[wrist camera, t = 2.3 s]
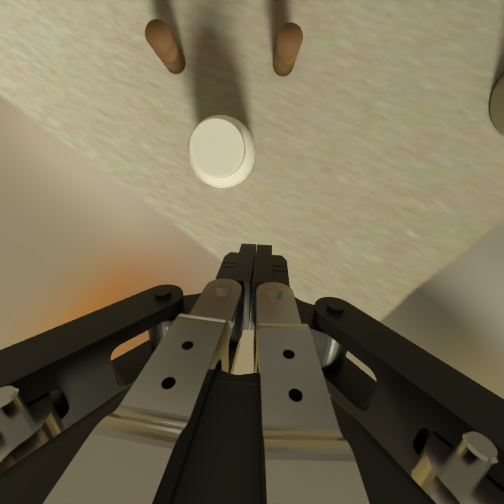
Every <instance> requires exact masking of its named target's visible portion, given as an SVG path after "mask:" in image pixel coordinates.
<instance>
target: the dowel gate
mask: <svg viewBox="0 0 504 504" xmlns="http://www.w3.org/2000/svg"><path fill="white" fill-rule="evenodd" d="M145 37H146V40H147V42H148V43H149V44H150V46H151V47H152V48H153V50H154V51H155V53H156V54H157V55H158V57H159V58H160V59H161V61H162V62H163V63H164V65H165V66H166V67H167V69H168V70H169V71H170V72H171V73H173V74H179V73H181V72H182V71H183V70H184V68H185V58H184V56H183V54H182V53H181V51H180V49H179V47H178V45H177V43H176V42H175V40H174V38H173V36H172V34H171V32H170V30H169V29H168V27H167V25H166V24H165V23H164V22H163V21H161V20H158V19H154V20H151V21H150V22H149V23H148V24H147V26H146V29H145ZM302 40H303V34H302V30H301V28H300V27H299V26H298V25H297V24H295V23H287V24H285V25H284V26H283V27H282V28H281V29H280V31H279V35H278V40H277V46H276V52H275V57H274V63H273V68H274V71H275V72H276V74H277V75H279V76H287V75H288V74H290V72H291V71H292V69H293V66H294V63H295V60H296V57H297V54H298V52H299V49H300V46H301V43H302Z"/></svg>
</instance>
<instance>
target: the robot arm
mask: <svg viewBox="0 0 504 504" xmlns="http://www.w3.org/2000/svg"><path fill="white" fill-rule="evenodd" d="M490 116H491V119H492V122H493V124H494V126H495V128H496V129H497V130H498V131H499V132H500V133H501V134H503V135H504V74H503V75H502V76H501V78H500V79H499V80H498V82H497V84H496V86H495V88H494V90H493V93H492V96H491V101H490ZM250 313H251V320H250ZM249 321H250V329H251V330H254V343H253V362H254V363H253V372H254V373H252V374H244V375H234V374H233V371H234V367H235V363H236V359H237V355H238V351H239V347H240V338H241V336H242V331H243V329H247V330H248V329H249ZM147 330H148V332H149V338H150V340H148V341H146V342H144V343H142V344H141V345H139V346H137V347H135V348H134V349H132V350H130V351H128V352H126V353H125V354H123V355H121V356H119V357H117V358H115V359H114V360H112V361H111V359H110V358H111V354H112V352H113V351H114V349H115V348H116V347H118V346H119V345H120V344H122V343H124V342H126V341H128V340H130V339H132V338H134V337H136V336H137V335H139V334H141V333H143V332H145V331H147ZM347 351H349V352H350V353H351V354H353V355H354V356H355V357H356V358H358V359H359V360H360V361H361V362H363V363H364V364H365V365H366V366H368V367H369V368H370V369H371V370H372V372H373V373H374V375H375V377H376V379H377V382H376V381H375V380H373V379H372V378H371V377H370V376H369V375H368V374H366V373H365V372H364V371H363V370H361V369H360V368H359V367H358V366H357V365H355V364H354V363H353V362H352V361H350V360H349V359H348V358H347V357H346V353H347ZM329 394H330V395H331V396H332V397H331V396H330V395H329ZM0 504H504V399H502V398H501V397H499V396H498V395H496V394H494V393H493V392H491V391H489V390H488V389H486V388H484V387H483V386H481V385H480V384H478V383H477V382H475V381H473V380H472V379H470V378H469V377H467V376H465V375H464V374H462V373H460V372H459V371H457V370H456V369H454V368H452V367H451V366H449V365H448V364H446V363H444V362H443V361H441V360H440V359H438V358H436V357H435V356H433V355H431V354H430V353H428V352H427V351H425V350H424V349H422V348H420V347H419V346H417V345H416V344H414V343H412V342H411V341H409V340H407V339H406V338H404V337H403V336H401V335H399V334H398V333H396V332H394V331H393V330H391V329H390V328H388V327H387V326H385V325H383V324H382V323H380V322H379V321H377V320H375V319H374V318H372V317H371V316H369V315H367V314H366V313H364V312H362V311H361V310H359V309H358V308H356V307H354V306H353V305H351V304H350V303H348V302H346V301H344V300H342V299H339V298H334V297H324V298H320V299H318V300H317V301H316V303H315V305H312V304H309V303H305V302H303V301H300V300H299V299H297V298H295V297H294V293H293V291H292V289H291V288H290V286H289V277H288V268H287V261H286V259H285V258H284V257H283V256H280V255H272V245H258V244H257V251H256V244H241V248H240V251H239V253H234V252H230V253H229V254H227V255H226V256H225V257H224V259H223V262H222V264H221V268H220V269H219V272H218V274H217V277H216V279H215V280H213V281H211V282H209V283H208V284H207V285H206V286H205V288H204V290H203V291H202V293H199V294H194V295H186V296H183V291H182V289H181V288H180V287H178V286H175V285H159V286H156V287H153V288H151V289H148V290H145V291H143V292H141V293H138V294H136V295H134V296H131V297H129V298H126V299H124V300H121V301H119V302H116V303H114V304H112V305H109V306H107V307H104V308H102V309H100V310H97V311H94V312H92V313H90V314H87V315H85V316H82V317H80V318H78V319H75V320H73V321H70V322H68V323H65V324H63V325H60V326H58V327H56V328H53V329H51V330H48V331H46V332H44V333H41V334H39V335H36V336H34V337H31V338H29V339H26V340H24V341H22V342H19V343H17V344H14V345H12V346H10V347H7V348H5V349H2V350H0Z"/></svg>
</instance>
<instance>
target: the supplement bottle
mask: <svg viewBox="0 0 504 504" xmlns="http://www.w3.org/2000/svg"><path fill="white" fill-rule="evenodd" d="M255 157H256V149H255V143H254V140H253V137H252V135H251V133H250V132H249V130H248V129H247V128H246V126H245V125H244V124H243V123H241V122H240V121H239V120H237V119H235V118H233V117H230V116H227V115H214V116H210V117H208V118H206V119H204V120H203V121H201V122H200V123H199V124H198V125H197V126H196V127H195V129H194V130H193V132H192V133H191V136H190V138H189V142H188V158H189V162H190V165H191V167H192V169H193V171H194V172H195V174H196V175H197V176H198V177H199V178H200V179H201V180H202V181H204V182H205V183H207V184H209V185H211V186H214V187H219V188H228V187H232V186H235V185H238V184H240V183H242V182H244V181H245V180H246V179H247V178H248V177H249V176H250V174H251V173H252V170H253V168H254V164H255Z"/></svg>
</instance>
